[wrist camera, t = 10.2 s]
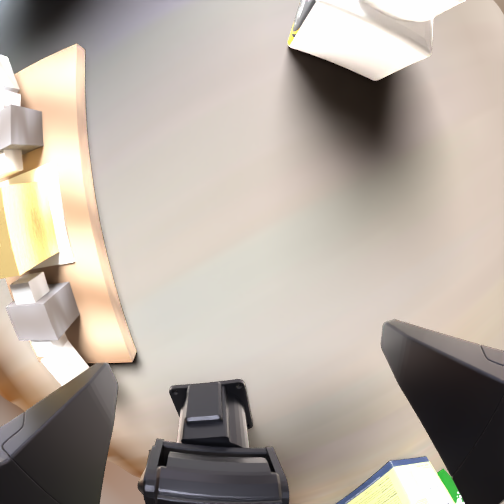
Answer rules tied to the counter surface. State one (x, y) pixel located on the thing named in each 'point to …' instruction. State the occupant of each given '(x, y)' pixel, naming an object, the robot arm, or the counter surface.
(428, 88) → the counter surface
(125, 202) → the counter surface
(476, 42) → the counter surface
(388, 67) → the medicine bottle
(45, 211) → the block
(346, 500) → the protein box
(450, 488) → the milk carton
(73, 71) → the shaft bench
